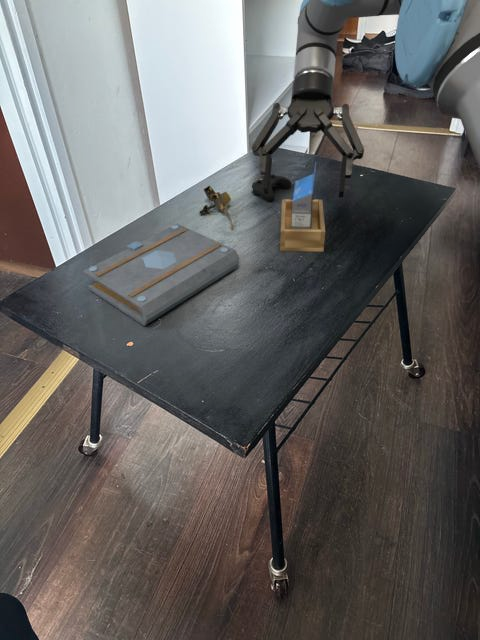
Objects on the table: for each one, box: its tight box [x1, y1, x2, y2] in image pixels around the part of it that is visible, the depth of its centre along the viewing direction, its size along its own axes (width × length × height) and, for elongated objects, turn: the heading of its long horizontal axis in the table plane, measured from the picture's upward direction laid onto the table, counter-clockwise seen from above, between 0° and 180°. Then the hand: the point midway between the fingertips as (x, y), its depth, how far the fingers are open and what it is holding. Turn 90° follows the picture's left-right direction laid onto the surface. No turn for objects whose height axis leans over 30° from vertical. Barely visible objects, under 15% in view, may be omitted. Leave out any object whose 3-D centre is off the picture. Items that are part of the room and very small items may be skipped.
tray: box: [279, 198, 326, 253], centre depth 93 cm, size 8×13×4 cm, turn 175°
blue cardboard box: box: [291, 161, 317, 229], centre depth 90 cm, size 9×4×12 cm, turn 171°
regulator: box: [199, 185, 234, 231], centre depth 101 cm, size 8×4×15 cm
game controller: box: [251, 173, 292, 202], centre depth 109 cm, size 10×5×6 cm
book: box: [82, 223, 241, 327], centre depth 82 cm, size 21×16×5 cm
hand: (303, 193), depth 86 cm, fingers open, 13 cm apart
